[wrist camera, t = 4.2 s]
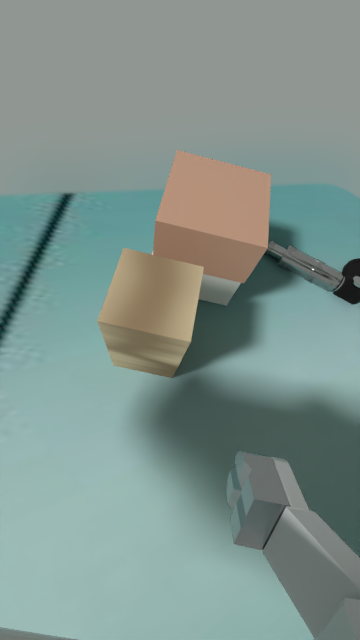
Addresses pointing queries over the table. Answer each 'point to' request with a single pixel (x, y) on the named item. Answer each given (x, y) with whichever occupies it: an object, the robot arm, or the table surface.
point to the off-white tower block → (217, 289)
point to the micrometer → (320, 271)
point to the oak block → (150, 312)
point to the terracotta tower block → (214, 216)
